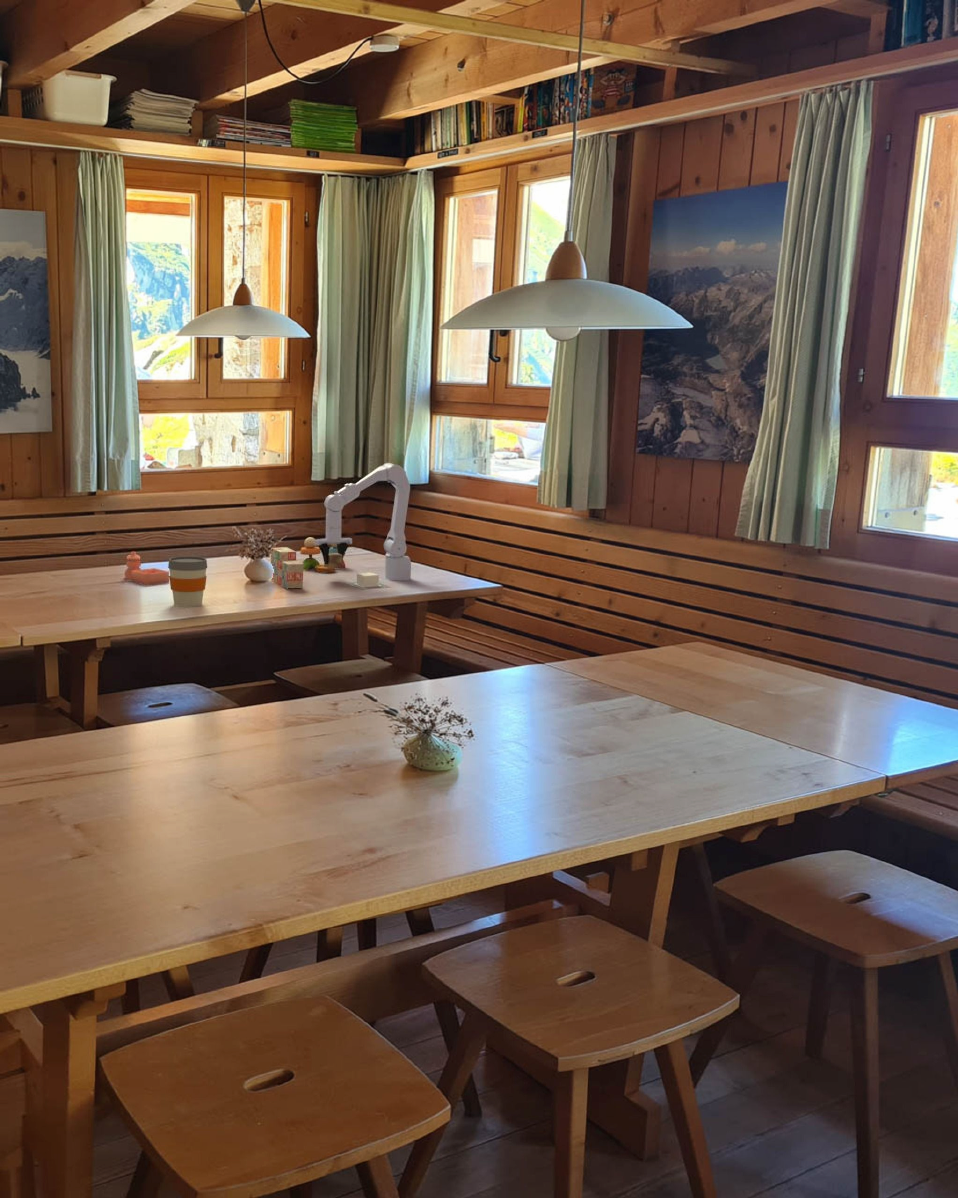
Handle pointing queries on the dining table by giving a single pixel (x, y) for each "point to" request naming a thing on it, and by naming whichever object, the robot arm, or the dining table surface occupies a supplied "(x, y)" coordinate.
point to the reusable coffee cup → (187, 580)
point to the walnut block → (334, 561)
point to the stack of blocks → (286, 568)
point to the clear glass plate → (367, 586)
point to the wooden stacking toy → (313, 550)
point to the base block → (367, 579)
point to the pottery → (144, 572)
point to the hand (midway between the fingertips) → (333, 563)
